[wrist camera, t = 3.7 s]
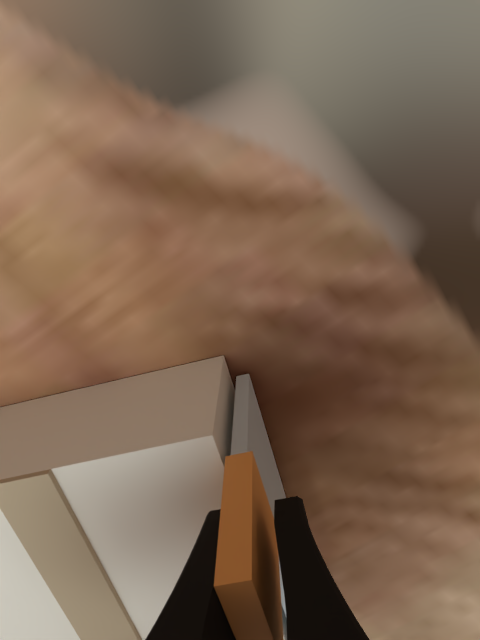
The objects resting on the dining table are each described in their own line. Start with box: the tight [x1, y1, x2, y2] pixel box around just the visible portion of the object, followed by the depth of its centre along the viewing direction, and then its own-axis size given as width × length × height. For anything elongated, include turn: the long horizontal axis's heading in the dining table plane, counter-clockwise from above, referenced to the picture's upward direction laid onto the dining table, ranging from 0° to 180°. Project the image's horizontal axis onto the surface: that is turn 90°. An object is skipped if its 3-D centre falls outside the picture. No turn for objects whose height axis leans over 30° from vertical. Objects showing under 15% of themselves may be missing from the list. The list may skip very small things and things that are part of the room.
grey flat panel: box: [214, 374, 286, 640], centre depth 15 cm, size 14×1×9 cm, turn 15°
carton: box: [0, 355, 287, 640], centre depth 18 cm, size 16×12×5 cm
